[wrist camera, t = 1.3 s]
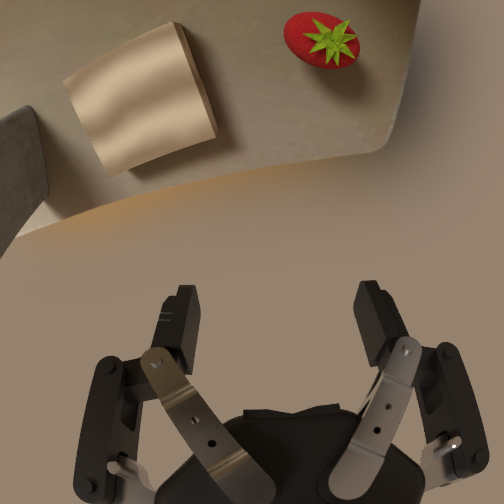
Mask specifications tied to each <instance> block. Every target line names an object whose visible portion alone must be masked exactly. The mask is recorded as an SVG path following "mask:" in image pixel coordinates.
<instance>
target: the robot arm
mask: <svg viewBox="0 0 504 504" xmlns="http://www.w3.org/2000/svg"><path fill="white" fill-rule="evenodd" d="M353 309H354V315H355V318H356V321H357V324H358V328H359V331H360V334H361V337H362V341H363V344H364V347H365V351H366V354H367V357H368V361H369V365H370V367H374V366H378V369H379V371H378V373H377V375H376V377H375V379H374V381H373V383H372V385H371V388H370V389H369V391H368V393H367V396H366V397H365V399H364V401H363V403H362V404H361V406H360V408H359V409H358V411H357V412H356V414H355V413H353V412H350V411H348V410H343V409H340V406H339V403H338V404H331V405H322V406H315V407H312V408H309V409H306V410H303V411H300V412H297V413H293V414H291V413H285V412H279V411H274V410H268V409H263V410H243V415H242V416H238V417H235V418H233V419H231V420H229V421H227V422H225V423H224V424H222V423H221V422H220V421H219V419H218V418H217V417H216V415H215V414H214V413H213V412H212V410H211V409H210V408H209V406H208V405H207V404H206V402H205V401H204V400H203V398H202V397H201V396H200V394H199V393H198V392H197V390H196V389H195V388H194V387H193V386H192V385H191V384H190V383H189V381H188V380H187V378H186V377H185V374H186V375H187V374H188V375H192V371H193V364H194V357H195V350H196V343H197V336H198V330H199V324H200V313H201V312H200V304H199V300H198V295H197V291H196V286H195V285H179V287H178V291H177V295H176V296H169V297H168V298H167V299H166V300H165V302H164V303H163V305H162V308H161V314H160V315H159V321H158V322H157V326H156V330H155V333H154V337H153V341H152V345H151V348H150V349H148V350H147V351H145V353H144V354H143V355H142V357H140V358H137V359H133V360H128V361H123V362H122V361H121V360H120V359H119V358H118V357H115V356H107V357H105V358H103V359H101V360H100V361H99V362H98V364H97V366H96V369H95V373H94V377H93V380H92V384H91V388H90V392H89V396H88V400H87V404H86V409H85V414H84V418H83V423H82V428H81V433H80V439H79V444H78V450H77V457H76V463H75V471H74V479H73V487H74V491H75V493H76V495H77V496H78V497H79V498H80V499H81V500H83V501H84V502H86V503H90V504H420V502H421V499H422V496H423V493H424V492H425V491H428V490H430V489H433V488H436V487H443V486H446V485H449V484H452V483H455V482H457V481H460V480H463V479H465V478H468V477H470V476H473V475H475V474H477V473H479V472H481V471H483V470H484V469H485V468H486V466H487V464H488V462H489V450H488V444H487V440H486V436H485V431H484V427H483V423H482V419H481V416H480V412H479V409H478V405H477V402H476V399H475V395H474V392H473V389H472V386H471V383H470V380H469V377H468V375H467V372H466V369H465V367H464V364H463V361H462V359H461V356H460V353H459V351H458V349H457V348H456V347H455V346H454V345H453V344H451V343H448V342H443V343H441V344H439V345H438V347H437V348H429V347H423V346H421V345H420V343H419V342H418V341H417V340H416V339H414V338H412V337H410V336H409V334H408V332H407V329H406V327H405V325H404V322H403V320H402V318H401V316H400V313H398V309H397V307H396V304H395V303H394V300H393V298H392V297H391V295H390V294H389V293H388V292H387V291H386V290H381V289H380V287H379V285H378V283H377V281H376V280H369V281H361V282H360V284H359V287H358V291H357V294H356V298H355V301H354V307H353ZM412 387H414V388H415V392H416V395H417V400H418V404H419V408H420V413H421V417H422V421H423V426H424V432H425V437H426V443H427V445H426V446H425V447H424V449H423V451H422V457H421V464H420V466H419V465H418V464H417V463H416V462H414V461H413V460H412V459H411V458H409V457H408V456H407V455H406V454H404V453H403V452H402V451H401V450H400V449H398V448H397V447H396V446H395V445H394V444H392V443H391V441H392V440H393V437H394V435H395V433H396V431H397V429H398V426H399V424H400V422H401V419H402V417H403V415H404V412H405V410H406V407H407V405H408V402H409V399H410V397H411V394H412V390H413V389H412ZM158 398H159V399H160V401H161V403H162V406H163V407H164V409H165V411H166V412H167V414H168V415H169V417H170V419H171V420H172V422H173V423H174V425H175V426H176V428H177V429H178V431H179V433H180V434H181V436H182V437H183V438H184V440H185V441H186V443H187V444H188V446H189V447H190V448H191V450H192V451H193V452H194V454H193V455H192V456H191V457H190V458H189V459H188V460H187V461H186V462H185V463H184V464H183V465H182V466H181V467H180V468H179V469H178V470H176V471H175V472H174V473H173V474H172V475H171V476H170V477H169V478H168V479H167V480H166V481H165V482H164V483H163V484H162V485H161V486H160V487H159V488H158V490H157V491H156V490H155V489H153V488H152V486H151V485H150V483H149V480H148V474H147V471H146V470H145V468H144V467H143V466H142V465H141V464H139V463H137V451H138V441H139V432H140V423H141V415H142V407H143V401H148V400H153V399H158Z"/></svg>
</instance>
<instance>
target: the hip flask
mask: <svg viewBox="0 0 504 504" xmlns="http://www.w3.org/2000/svg"><path fill="white" fill-rule="evenodd" d="M48 192H49V191H48V180H47V172H46V165H45V159H44V154H43V148H42V143H41V138H40V134H39V129H38V125H37V121H36V117H35V114H34V111H33V109H32V107H31V106H29V105H25V106H23V107H21V108H20V109H18V110H16V111H14V112H12V113H11V114H9V115H7V116H6V117H4V118H2V119H1V120H0V259H1V257H2V256H3V254H4V253H5V251H6V250H7V248H8V247H9V245H10V244H11V242H12V241H13V239H14V238H15V236H16V235H17V234H18V232H19V231H20V230H21V228H22V227H23V226H24V224H25V223H26V222H27V220H28V219H29V218H30V216H31V215H32V214H33V213H34V211H35V210H36V209H37V208H38V206H39V205H40V204H41V203H42V201H43V200H44V199H45V198H46V197H47V196H48Z"/></svg>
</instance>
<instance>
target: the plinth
mask: <svg viewBox="0 0 504 504" xmlns="http://www.w3.org/2000/svg"><path fill="white" fill-rule="evenodd" d="M63 84H64V87H65V89H66V91H67V93H68V96H69V98H70V100H71V102H72V104H73V106H74V109H75V111H76V113H77V115H78V117H79V119H80V121H81V123H82V125H83V127H84V129H85V131H86V133H87V135H88V137H89V139H90V141H91V143H92V145H93V147H94V149H95V151H96V153H97V154H98V156H99V158H100V160H101V162H102V164H103V166H104V167H105V169H106V171H107V173H108V175H109V176H110V177H112V176H114V175H117V174H119V173H121V172H124V171H126V170H128V169H131V168H133V167H135V166H138V165H140V164H143V163H145V162H148V161H150V160H153V159H155V158H158V157H161V156H163V155H166V154H169V153H171V152H174V151H177V150H180V149H183V148H186V147H188V146H191V145H194V144H197V143H200V142H204V141H207V140H210V139H213V138H216V135H217V131H218V124H217V121H216V119H215V116H214V113H213V110H212V108H211V105H210V102H209V99H208V97H207V94H206V91H205V88H204V86H203V83H202V80H201V78H200V75H199V72H198V69H197V67H196V64H195V61H194V59H193V56H192V53H191V50H190V48H189V45H188V42H187V40H186V37H185V34H184V32H183V29H182V26H181V24H180V23H176V22H173V21H172V22H170V23H167V24H165V25H163V26H160V27H158V28H156V29H153V30H151V31H149V32H147V33H145V34H142V35H140V36H138V37H136V38H134V39H132V40H130V41H128V42H126V43H124V44H122V45H121V46H119V47H117V48H115V49H113V50H111V51H110V52H108V53H106V54H104V55H103V56H101V57H99V58H98V59H96V60H94V61H93V62H91V63H90V64H88V65H86V66H85V67H83V68H82V69H80V70H79V71H77V72H76V73H74V74H73V75H71V76H70V77H69V78H67V79H66V80H64V81H63Z"/></svg>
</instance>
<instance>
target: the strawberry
mask: <svg viewBox="0 0 504 504" xmlns="http://www.w3.org/2000/svg"><path fill="white" fill-rule="evenodd" d="M349 21H350V20H347V21H345V22H343V21H342V20H340V19H338V18H336V17H334V16H331V15H329V14H325V13H320V12H303V13H300V14H297V15H295V16H293V17H292V18H290V19H289V20H288V21H287V23H286V25H285V28H284V38H285V42H286V44H287V46H288V47H289V49H290V50H291V51H292V52H293V53H294V54H295V55H296V56H297V57H298V58H300V59H301V60H303V61H304V62H306V63H308V64H310V65H313V66H316V67H319V68H324V69H339V68H343V67H346V66H349V65H350V64H352V63H353V62H354V61H356V59H357V58H358V56H359V52H360V44H359V40H358V38H357V35H356V34H355V33H354V31H353V30H352V29H351V28H350V27H349V26H348V23H349Z"/></svg>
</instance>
